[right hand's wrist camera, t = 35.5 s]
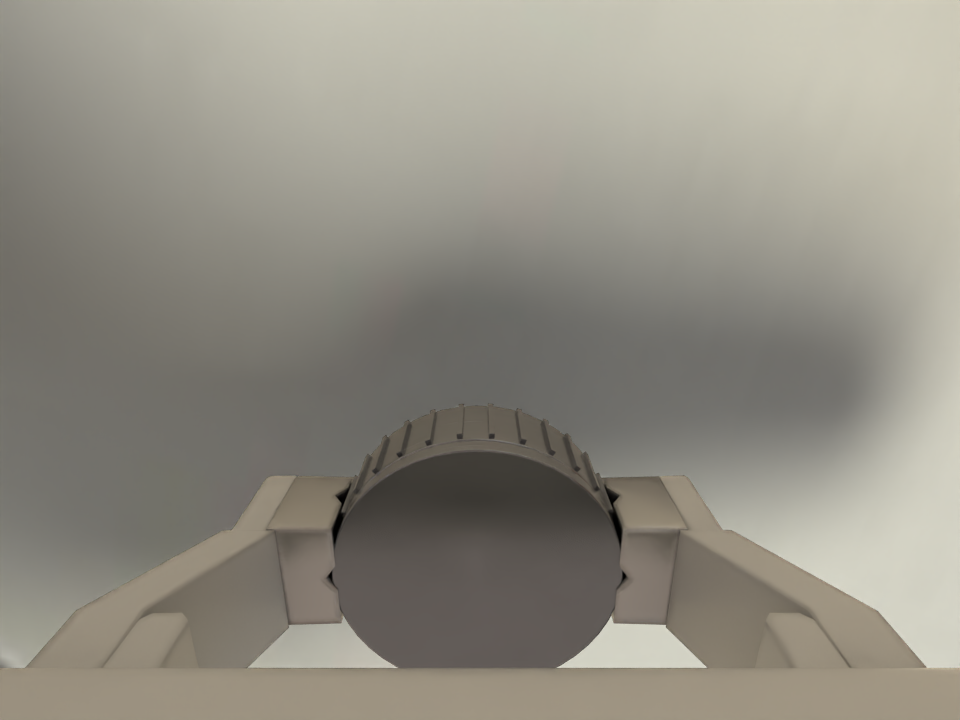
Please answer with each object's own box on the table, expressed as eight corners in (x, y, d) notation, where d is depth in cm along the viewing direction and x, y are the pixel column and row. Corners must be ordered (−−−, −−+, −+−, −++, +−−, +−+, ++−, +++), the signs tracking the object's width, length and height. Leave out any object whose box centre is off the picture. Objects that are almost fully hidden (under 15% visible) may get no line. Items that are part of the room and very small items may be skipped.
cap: (437, 652, 11) (431, 726, 10) (296, 479, 10) (264, 534, 8) (649, 555, 10) (676, 620, 9) (527, 352, 9) (537, 389, 7)
